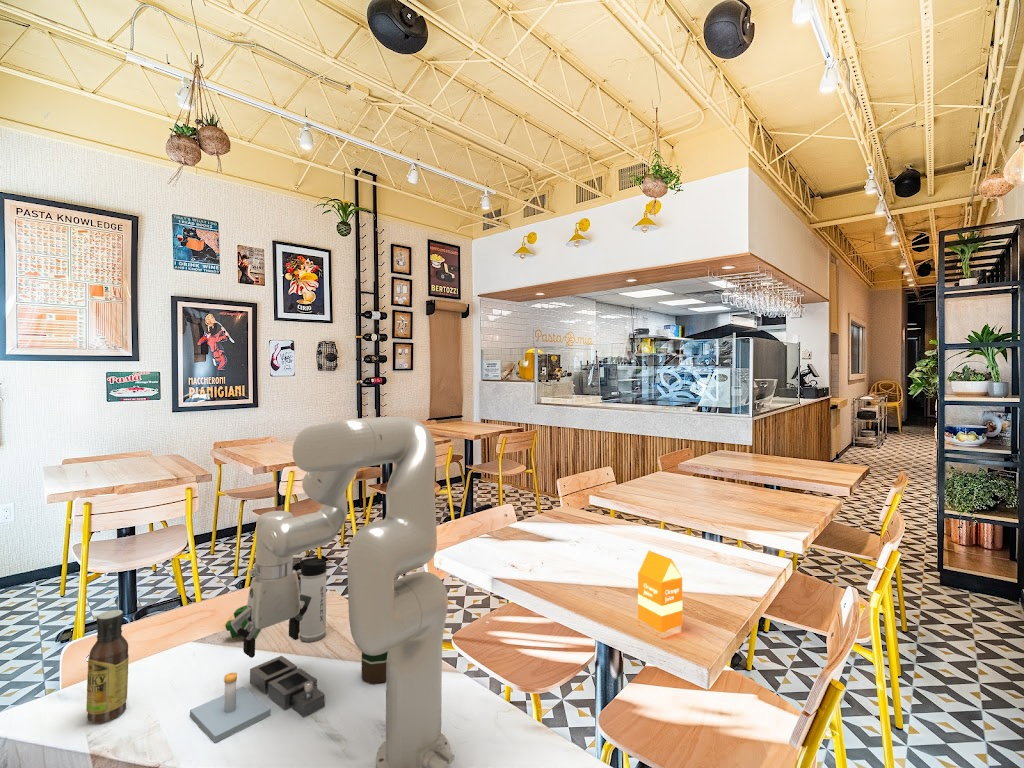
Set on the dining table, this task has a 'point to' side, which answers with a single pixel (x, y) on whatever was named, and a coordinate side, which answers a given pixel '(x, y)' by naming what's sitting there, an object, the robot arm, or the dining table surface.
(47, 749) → the dining table surface
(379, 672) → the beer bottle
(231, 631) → the green mounting bracket
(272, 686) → the link
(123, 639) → the sauce bottle
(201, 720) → the keeper
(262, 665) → the end link
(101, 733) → the dining table surface
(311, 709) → the knobbed metal block
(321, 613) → the travel mug
